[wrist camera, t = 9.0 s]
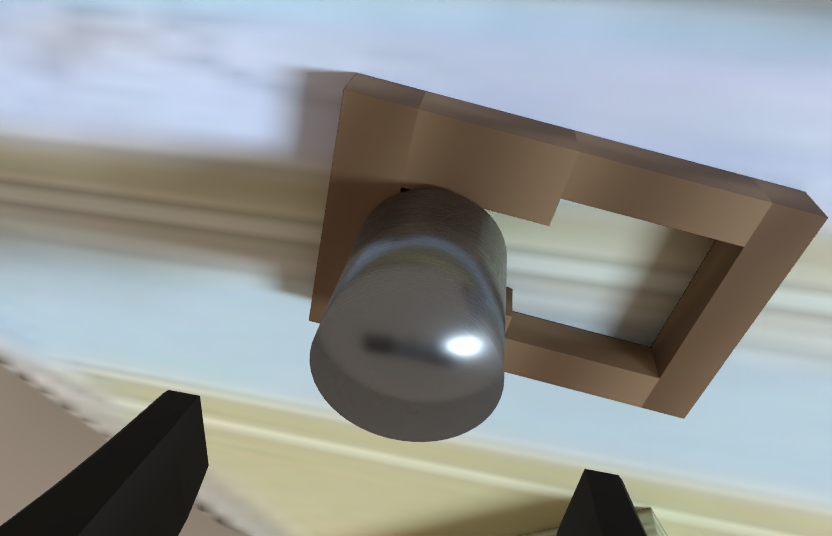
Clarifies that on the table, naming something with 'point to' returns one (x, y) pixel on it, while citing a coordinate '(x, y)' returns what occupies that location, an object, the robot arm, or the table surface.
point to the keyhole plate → (537, 201)
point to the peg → (417, 320)
